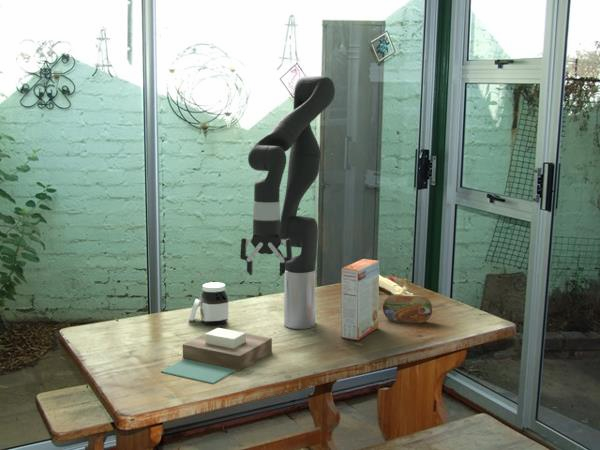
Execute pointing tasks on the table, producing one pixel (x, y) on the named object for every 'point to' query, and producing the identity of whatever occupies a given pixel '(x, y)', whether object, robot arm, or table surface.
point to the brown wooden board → (228, 352)
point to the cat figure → (394, 286)
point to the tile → (225, 337)
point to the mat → (198, 371)
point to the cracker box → (359, 299)
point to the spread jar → (212, 304)
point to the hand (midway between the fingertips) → (265, 275)
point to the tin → (407, 308)
